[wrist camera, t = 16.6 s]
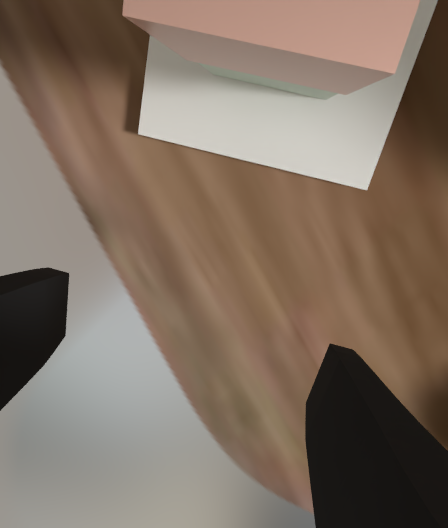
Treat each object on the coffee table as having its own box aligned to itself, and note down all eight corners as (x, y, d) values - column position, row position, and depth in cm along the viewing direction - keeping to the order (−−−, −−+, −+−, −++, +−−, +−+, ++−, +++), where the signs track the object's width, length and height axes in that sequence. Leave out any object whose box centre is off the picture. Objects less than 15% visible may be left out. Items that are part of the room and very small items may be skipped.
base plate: (469, -106, 13) (483, -123, 12) (362, 186, 18) (366, 190, 17) (183, -164, 14) (176, -185, 13) (145, 133, 18) (138, 134, 17)
